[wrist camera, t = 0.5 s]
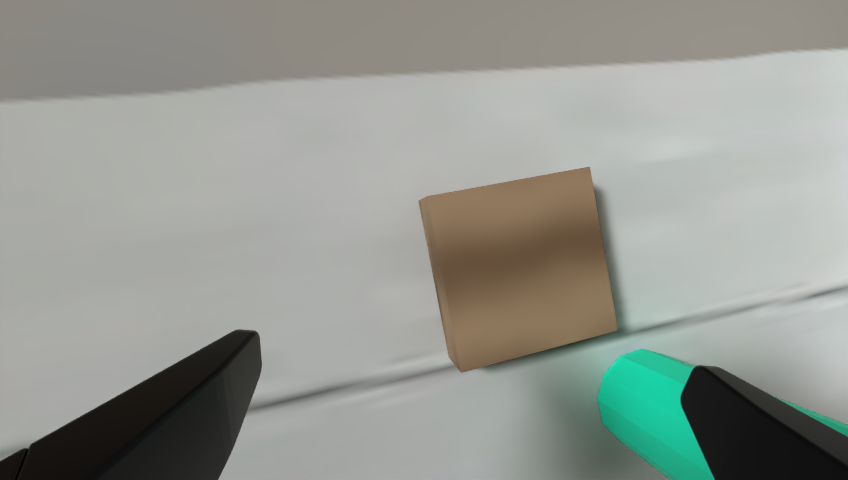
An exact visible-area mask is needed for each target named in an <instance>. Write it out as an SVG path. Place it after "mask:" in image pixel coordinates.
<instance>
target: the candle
mask: <svg viewBox="0 0 848 480" xmlns="http://www.w3.org/2000/svg"><path fill="white" fill-rule="evenodd" d="M693 368H695V366H692V365H689V364H687V363H684V362H681V361H679V360H676V359H674V358H671V357H668V356H666V355H663V354H660V353H656V352H652V351H648V350H645V349H640V350H637V351H634V352H631V353H628V354H625V355H622V356H620V357H619V358H618V359H617V360H616V361H615V363H614V364H613V365H612V366H611V367H610V368H609V369H608V370H607V372H606V373H605V374H604V376H603V380H602V384H601V387H600V391H599V395H598V399H597V400H598V404H599V409H600V413H601V418H602V422H603V424H604V425H605V426H606V427H607V428H608V429H609V430H610V431H611V433H612V434H613V435H614V436H615V437H616V438H617V439H618V440H619V441H621V442H622V443H623V444H624V445H626V446H627V447H628V448H630V449H631V450H632V451H634V452H635V453H636V454H638V455H639V456H640V457H642V458H643V459H644V460H645V461H647V462H648V463H649V464H651V465H652V466H653V467H655V468H656V469H657V470H659V471H660V472H661V473H662V474H664V475H665V476H666V477H668V478H669V479H670V480H715V479H714V477H713V475H712V473H711V471H710V469H709V467H708V464H707V462H706V460H705V458H704V456H703V453H702V451H701V449H700V447H699V444H698V442H697V440H696V438H695V436H694V433H693V431H692V429H691V427H690V425H689V422H688V420H687V418H686V416H685V413H684V411H683V409H682V406H681V401H680V397H681V393H682V391H683V389H684V386H685V384H686V382H687V380H688V378H689V376H690V373H691V371H692V370H693ZM775 398H776V397H775ZM777 399H778V398H777ZM779 400H781V399H779ZM781 401H783V402H784V403H786V404H788V405H790V406H792V407H794V408H796V409H797V410H799V411H801V412H803V413H805V414H807V415H809V416H810V417H812V418H814V419H816V420H818V421H820V422H822V423H823V424H825V425H827V426H829V427H831V428H833V429H835V430H836V431H838V432H840V433H842V434H844V435H846V436H848V425H847V424H844V423H841V422H839V421H836V420H834V419H831V418H828V417H826V416H823V415H820V414H818V413H815V412H813V411H810V410H807V409H805V408H802V407H799V406H797V405H794V404H792V403H789V402H786V401H784V400H781Z"/></svg>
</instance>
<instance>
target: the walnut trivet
mask: <svg viewBox="0 0 848 480" xmlns="http://www.w3.org/2000/svg"><path fill="white" fill-rule="evenodd" d="M419 205H420V210H421V215H422V220H423V225H424V230H425V236H426V241H427V246H428V251H429V256H430V261H431V267H432V272H433V277H434V282H435V287H436V292H437V298H438V303H439V308H440V313H441V318H442V323H443V329H444V334H445V339H446V344H447V349H448V354H449V358H450V359H451V360H452V362H453V363H454V364H455V365H456V367H457V368H458V369H459V370H460V372H461V373H462V372H465V371H469V370H473V369H476V368H480V367H484V366H488V365H491V364H495V363H499V362H502V361H506V360H510V359H514V358H517V357H521V356H525V355H528V354H532V353H536V352H540V351H543V350H547V349H551V348H554V347H558V346H562V345H566V344H569V343H573V342H577V341H580V340H584V339H588V338H591V337H595V336H599V335H603V334H606V333H610V332H614V331H617V330H618V328H617V322H616V316H615V310H614V304H613V299H612V293H611V287H610V281H609V275H608V270H607V264H606V258H605V252H604V246H603V241H602V235H601V229H600V223H599V217H598V212H597V206H596V200H595V194H594V188H593V182H592V177H591V171H590V167H586V168H580V169H575V170H569V171H564V172H558V173H553V174H548V175H542V176H537V177H531V178H526V179H520V180H515V181H509V182H504V183H498V184H493V185H487V186H482V187H476V188H471V189H465V190H460V191H454V192H449V193H443V194H438V195H432V196H427V197H425V198H423V199H421V200H419Z"/></svg>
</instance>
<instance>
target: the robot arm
mask: <svg viewBox="0 0 848 480" xmlns="http://www.w3.org/2000/svg"><path fill="white" fill-rule="evenodd" d="M261 368H262V360H261V348H260V337H259V334H258V333H257V332H256V331H253V330H235V331H233V332H231V333H229V334H227V335H225V336H224V337H222V338H220V339H218V340H216V341H215V342H213V343H211V344H209V345H208V346H206V347H204V348H202V349H200V350H199V351H197V352H195V353H193V354H191V355H190V356H188V357H186V358H184V359H182V360H181V361H179V362H177V363H175V364H174V365H172V366H170V367H168V368H166V369H165V370H163V371H161V372H159V373H157V374H156V375H154V376H152V377H150V378H148V379H147V380H145V381H143V382H141V383H140V384H138V385H136V386H134V387H132V388H131V389H129V390H127V391H125V392H123V393H122V394H120V395H118V396H116V397H114V398H113V399H111V400H109V401H107V402H106V403H104V404H102V405H100V406H98V407H97V408H95V409H93V410H91V411H89V412H88V413H86V414H84V415H82V416H80V417H79V418H77V419H75V420H73V421H71V422H70V423H68V424H66V425H64V426H63V427H61V428H59V429H57V430H55V431H54V432H52V433H50V434H48V435H46V436H45V437H43V438H41V439H39V440H37V441H36V442H34V443H32V444H31V445H30V446H29V449H27V448H23V449H21V450H19V451H18V452H16V453H14V454H12V455H10V456H9V457H7V458H5V459H3V460H1V461H0V480H218V479H219V477H220V475H221V473H222V471H223V469H224V467H225V465H226V463H227V460H228V458H229V456H230V454H231V452H232V450H233V447H234V445H235V442H236V439H237V437H238V434H239V432H240V429H241V426H242V423H243V421H244V418H245V415H246V412H247V410H248V407H249V404H250V401H251V399H252V396H253V393H254V390H255V388H256V385H257V382H258V380H259V377H260V373H261ZM680 401H681V406H682V409H683V411H684V413H685V416H686V418H687V420H688V422H689V425H690V427H691V429H692V431H693V433H694V436H695V438H696V440H697V442H698V444H699V447H700V449H701V451H702V453H703V456H704V458H705V460H706V462H707V464H708V467H709V469H710V471H711V473H712V475H713V477H714V479H715V480H848V436H846V435H844V434H842V433H840V432H838V431H836V430H835V429H833V428H831V427H829V426H827V425H825V424H823V423H822V422H820V421H818V420H816V419H814V418H812V417H810V416H809V415H807V414H805V413H803V412H801V411H799V410H797V409H796V408H794V407H792V406H790V405H788V404H786V403H784V402H783V401H781V400H779V399H777V398H775V397H773V396H772V395H770V394H768V393H766V392H764V391H762V390H760V389H759V388H757V387H755V386H753V385H751V384H749V383H747V382H746V381H744V380H742V379H740V378H738V377H736V376H734V375H733V374H731V373H729V372H727V371H725V370H723V369H721V368H719V367H715V366H703V365H699V366H696V367H695V368H693V370H692V371H691V373H690V376H689V378H688V380H687V382H686V384H685V386H684V389H683V391H682V393H681V397H680Z"/></svg>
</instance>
